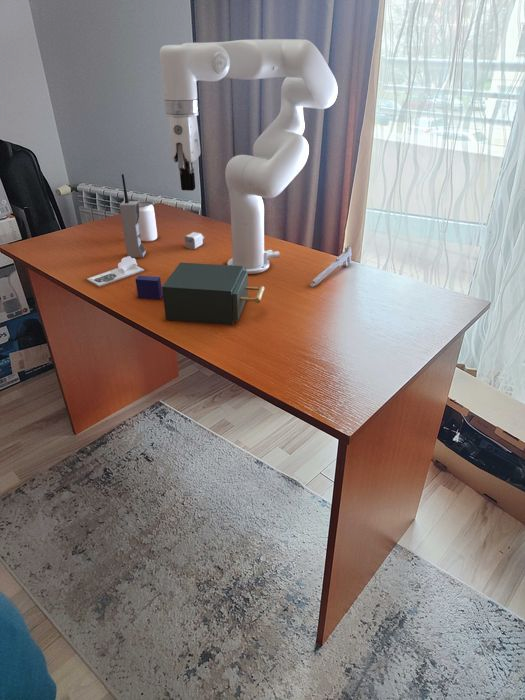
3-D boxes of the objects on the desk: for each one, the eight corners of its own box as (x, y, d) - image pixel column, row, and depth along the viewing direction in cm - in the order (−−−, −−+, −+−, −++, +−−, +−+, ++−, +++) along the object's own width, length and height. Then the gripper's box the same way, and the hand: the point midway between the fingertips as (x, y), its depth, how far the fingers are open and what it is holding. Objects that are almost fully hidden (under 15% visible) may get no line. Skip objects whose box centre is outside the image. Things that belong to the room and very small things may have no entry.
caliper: (347, 264, 151) (349, 244, 148) (350, 264, 151) (352, 245, 147) (309, 286, 138) (310, 265, 134) (312, 287, 137) (313, 266, 134)
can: (137, 236, 172) (132, 201, 166) (156, 234, 174) (152, 200, 167) (139, 243, 167) (134, 207, 161) (158, 240, 169) (154, 205, 162)
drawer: (266, 296, 131) (266, 271, 127) (258, 322, 119) (257, 295, 115) (190, 291, 133) (188, 267, 130) (175, 316, 122) (172, 289, 118)
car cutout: (131, 264, 152) (129, 250, 149) (144, 270, 148) (142, 256, 145) (87, 280, 142) (83, 265, 140) (99, 286, 139) (96, 271, 136)
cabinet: (244, 297, 132) (243, 266, 128) (232, 325, 120) (231, 291, 115) (183, 293, 135) (180, 262, 130) (165, 319, 122) (161, 286, 118)
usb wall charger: (185, 247, 163) (184, 235, 161) (197, 240, 168) (196, 229, 166) (195, 249, 162) (194, 237, 160) (207, 242, 167) (206, 231, 165)
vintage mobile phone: (143, 257, 156) (131, 175, 143) (127, 257, 156) (114, 175, 143) (146, 253, 159) (134, 172, 146) (130, 253, 159) (117, 172, 146)
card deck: (162, 295, 134) (160, 276, 131) (159, 299, 132) (157, 280, 129) (141, 293, 135) (138, 275, 132) (138, 297, 133) (135, 279, 130)
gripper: (190, 112, 107) (196, 198, 117) (204, 104, 120) (209, 182, 130) (156, 112, 108) (165, 197, 118) (173, 103, 120) (181, 181, 130)
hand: (188, 189), depth 124 cm, fingers closed
